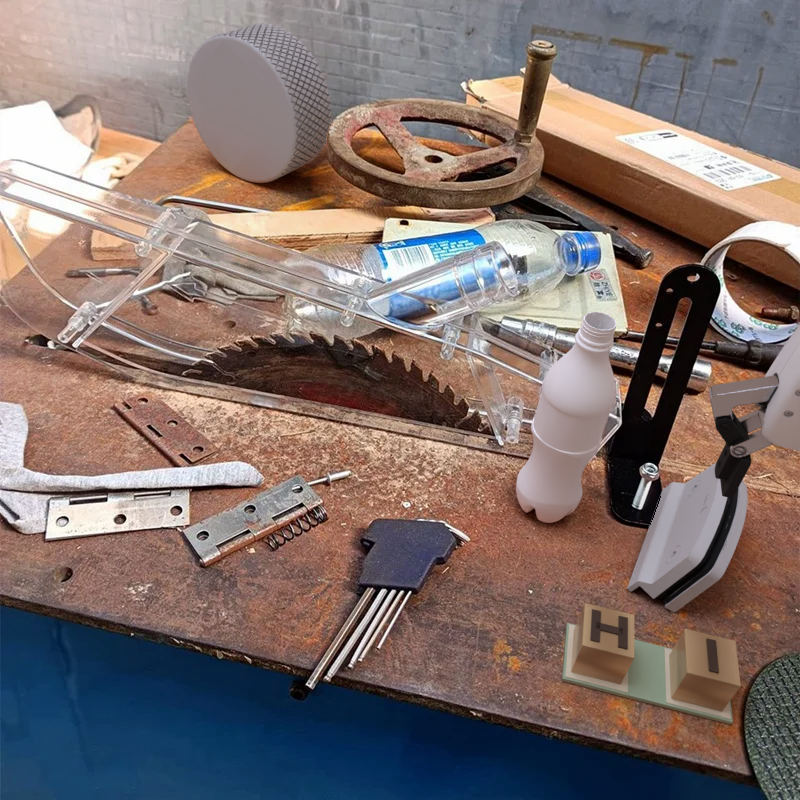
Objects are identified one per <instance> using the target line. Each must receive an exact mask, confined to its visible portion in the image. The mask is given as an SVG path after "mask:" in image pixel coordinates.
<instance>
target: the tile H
mask: <svg viewBox="0 0 800 800" xmlns="http://www.w3.org/2000/svg"><path fill="white" fill-rule="evenodd" d="M575 625H576V626H575V628H574V634H573V648H572V662H571V672H573V673H577V674H581V675H585V676H589V677H593V678H597V679H601V680H604V681H608V682H612V683H616V684H621V683H622V681H623V679H624V677H625V675H626V673H627V671H628V669H629V667H630V665H631V664H632V662H633V660H634V639H635V614H632V613H629V612H624V611H620V610H617V609H611V608H607V607H603V606H600V605H595V604H592V603H587V602H584V604H583V606H582V608H581V611H580V614H579V616H578V619H577V620H576V623H575Z"/></svg>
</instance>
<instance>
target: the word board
mask: <svg viewBox="0 0 800 800" xmlns="http://www.w3.org/2000/svg"><path fill="white" fill-rule="evenodd" d="M575 626H576V623H575V624H574V623H571V622H566V625H565V636H564V648H563V661H562V673H561V682H564V683H567V684H572V685H576V686H580V687H583V688H587V689H591V690H595V691H599V692H602V693H607V694H610V695H614V696H618V697H622V698H626V699H630V700H634V701H638V702H642V703H644V704H645V703H646V704H650V705H653V706H656V707H657V706H658V707H661V708H664V709H668V710H673V711H676V712H680V713H683V714H687V715H691V716H695V717H699V718H703V719H707V720H711V721H715V722H720V723H723V724H726V725H733V723H734V718H733V710H732V709H733V708H732V699H731V700H730V701H729V703H728V704H727V706H726V707H725V708H724V710H723V711H718V710H714V709H710V708H706V707H702V706H698V705H694V704H690V703H687V702H683V701H679V700H675V699H671V686H670V661H669V655H670V653H671V651H672V650H673V648H671V647H667V646H663V645H659V644H654V643H650V642H646V641H643V640H639V639H635V638H634V660H633V662H632V664H631V665H630V667H629V669H628V671H627V673H626V675H625V677H624V679H623V681H622V683H621V684H616V683H612V682H608V681H604V680H601V679H597V678H593V677H589V676H585V675H581V674H577V673H573V672H571V662H572V648H573V634H574V628H575Z"/></svg>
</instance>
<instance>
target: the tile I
mask: <svg viewBox="0 0 800 800" xmlns="http://www.w3.org/2000/svg"><path fill="white" fill-rule="evenodd" d="M736 642H737V641H736V640H735V639H730V638H726V637H722V636H717V635H713V634H709V633H705V632H702V631H698V630H693V629H690V628H684V629H683V631H682V632H681V633H680V636H679V637H678V638H677V641H676V642H675V645H674V646H673V648H672V649H673V650H672V651H671V653H670V655H669V661H670V686H671V699H675V700H679V701H683V702H687V703H690V704H694V705H698V706H702V707H706V708H710V709H714V710H718V711H723V710H724V708H725V707H726V706H727V704H728V703H729V701H730V700H731V701H732V699H733V697H734V696H735V695H736V693H737V692H738V691H739V690H740V688H741V687H742V683H741V674H740V668H739V667H740V666H739V659H738V650H737V643H736Z"/></svg>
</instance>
